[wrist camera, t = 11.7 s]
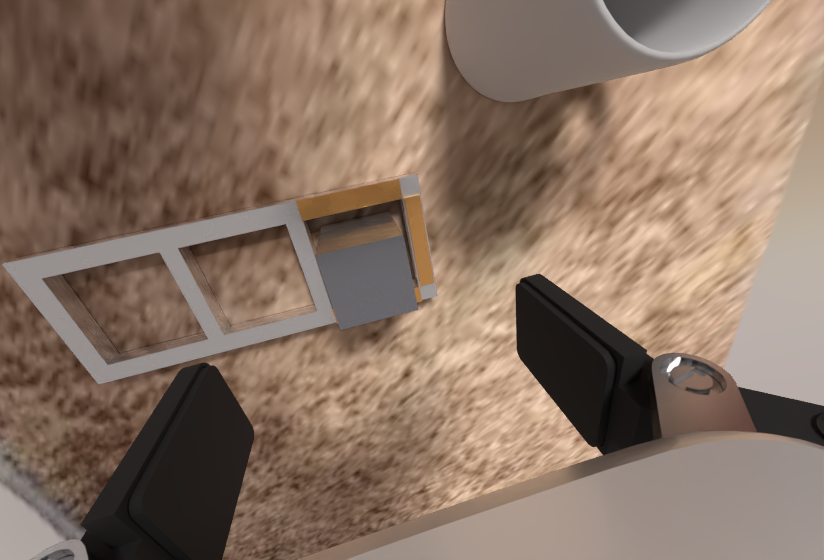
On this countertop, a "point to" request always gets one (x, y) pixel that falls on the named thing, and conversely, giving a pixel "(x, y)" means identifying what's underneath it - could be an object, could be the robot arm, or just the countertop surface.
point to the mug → (582, 40)
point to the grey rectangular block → (366, 269)
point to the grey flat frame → (173, 241)
